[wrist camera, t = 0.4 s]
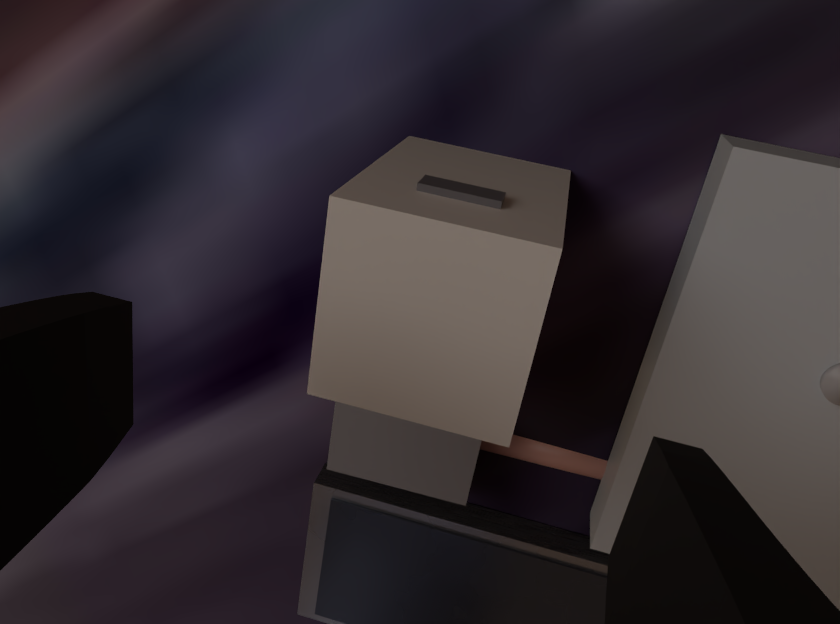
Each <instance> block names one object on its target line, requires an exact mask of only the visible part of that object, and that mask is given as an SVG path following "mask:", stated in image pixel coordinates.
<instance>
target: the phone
mask: <svg viewBox="0 0 840 624" xmlns="http://www.w3.org/2000/svg"><path fill="white" fill-rule="evenodd" d="M608 557H609V554H608V553H605V552H601V551H597V550H594V549H590V537H588V536H585V535H581V534H578V533H574V532H570V531H567V530H563V529H560V528H556V527H552V526H549V525H545V524H542V523H538V522H535V521H531V520H527V519H524V518H520V517H517V516H513V515H509V514H506V513H502V512H499V511H495V510H491V509H488V508H484V507H481V506H477V505H474V504H470V503H466V506H464V505H461V504H457V503H453V502H449V501H445V500H442V499H438V498H434V497H430V496H426V495H423V494H419V493H415V492H411V491H408V490H404V489H400V488H396V487H392V486H389V485H385V484H381V483H377V482H373V481H370V480H366V479H362V478H358V477H354V476H351V475H347V474H343V473H339V472H335V471H332V470H328V469H327V464H326V463H325V464H324V466H323V468H322V470H321V471H320V473H319V475H318V477H317V478H316V480H315V482H314V487H313V495H312V502H311V510H310V518H309V526H308V534H307V542H306V550H305V558H304V566H303V574H302V581H301V589H300V597H299V605H298V613H297V614H299V615H302V616H305V617H308V618H312V619H315V620H318V621H321V622H325V623H328V624H605V606H606V587H607V571H608Z"/></svg>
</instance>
